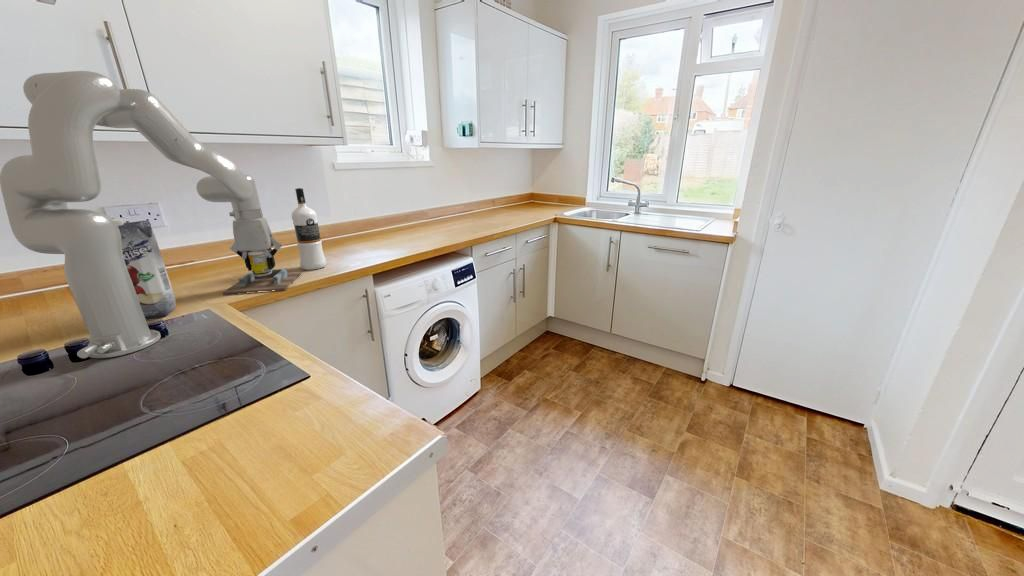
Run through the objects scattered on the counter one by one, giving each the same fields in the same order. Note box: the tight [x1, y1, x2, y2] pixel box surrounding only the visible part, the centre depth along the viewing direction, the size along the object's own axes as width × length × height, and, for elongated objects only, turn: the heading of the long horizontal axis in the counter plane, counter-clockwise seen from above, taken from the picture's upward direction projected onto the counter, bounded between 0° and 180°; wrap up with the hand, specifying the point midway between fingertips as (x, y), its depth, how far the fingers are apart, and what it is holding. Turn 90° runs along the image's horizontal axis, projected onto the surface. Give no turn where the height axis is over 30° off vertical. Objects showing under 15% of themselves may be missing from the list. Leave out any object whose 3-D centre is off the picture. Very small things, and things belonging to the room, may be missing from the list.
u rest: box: [222, 268, 303, 296], centre depth 132 cm, size 18×18×4 cm
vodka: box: [291, 187, 328, 271], centre depth 146 cm, size 9×9×30 cm
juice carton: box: [111, 218, 177, 320], centre depth 104 cm, size 9×10×27 cm
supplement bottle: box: [248, 250, 272, 276], centre depth 129 cm, size 6×6×10 cm
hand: (261, 268), depth 130 cm, fingers closed on supplement bottle, 5 cm apart
